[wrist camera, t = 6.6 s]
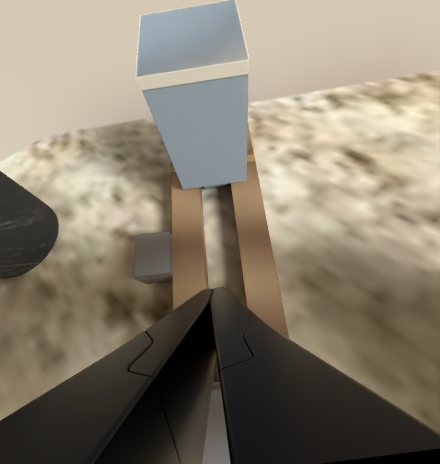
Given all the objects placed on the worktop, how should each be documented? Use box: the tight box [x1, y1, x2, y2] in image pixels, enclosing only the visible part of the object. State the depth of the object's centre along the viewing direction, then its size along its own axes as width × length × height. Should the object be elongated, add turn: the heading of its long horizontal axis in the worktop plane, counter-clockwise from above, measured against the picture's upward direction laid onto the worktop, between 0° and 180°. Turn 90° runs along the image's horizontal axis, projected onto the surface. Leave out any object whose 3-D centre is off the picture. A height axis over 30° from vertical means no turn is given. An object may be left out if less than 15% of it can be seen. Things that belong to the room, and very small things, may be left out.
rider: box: [135, 0, 250, 189], centre depth 17 cm, size 5×5×11 cm
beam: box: [134, 124, 289, 464], centre depth 17 cm, size 24×9×4 cm, turn 5°
